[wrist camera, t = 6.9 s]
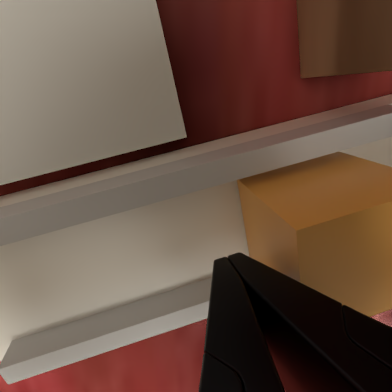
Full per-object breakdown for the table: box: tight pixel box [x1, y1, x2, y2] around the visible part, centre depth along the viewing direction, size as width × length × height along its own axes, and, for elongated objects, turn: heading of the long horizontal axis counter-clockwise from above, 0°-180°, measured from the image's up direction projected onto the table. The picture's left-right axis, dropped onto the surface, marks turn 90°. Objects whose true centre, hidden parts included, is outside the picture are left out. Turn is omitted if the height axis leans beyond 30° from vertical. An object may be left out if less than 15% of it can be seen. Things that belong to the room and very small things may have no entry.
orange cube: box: [237, 151, 392, 317], centre depth 9 cm, size 4×4×4 cm
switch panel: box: [0, 94, 392, 384], centre depth 11 cm, size 20×6×3 cm, turn 102°
